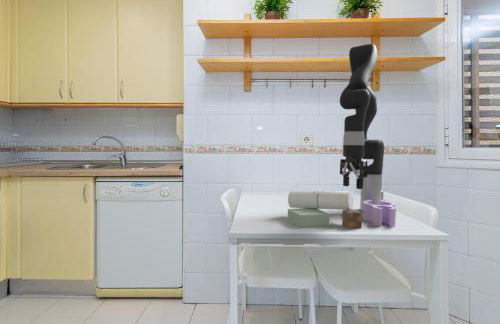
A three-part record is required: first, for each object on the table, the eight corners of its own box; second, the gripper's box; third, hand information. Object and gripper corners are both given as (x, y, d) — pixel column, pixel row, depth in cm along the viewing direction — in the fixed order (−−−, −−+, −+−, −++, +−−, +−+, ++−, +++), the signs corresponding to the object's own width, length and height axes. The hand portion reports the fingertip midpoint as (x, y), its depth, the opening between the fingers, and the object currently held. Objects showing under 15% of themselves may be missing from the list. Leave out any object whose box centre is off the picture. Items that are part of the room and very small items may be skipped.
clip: (403, 228, 120) (404, 209, 119) (368, 226, 122) (369, 208, 121) (389, 216, 139) (390, 200, 139) (359, 215, 141) (360, 199, 141)
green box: (314, 219, 133) (314, 207, 133) (329, 226, 122) (329, 213, 122) (287, 221, 130) (287, 209, 130) (301, 228, 118) (301, 215, 118)
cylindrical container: (286, 201, 133) (347, 203, 119) (290, 187, 137) (350, 187, 124) (292, 210, 137) (351, 213, 124) (296, 197, 141) (354, 198, 128)
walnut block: (353, 224, 123) (353, 209, 123) (361, 228, 119) (362, 212, 118) (342, 225, 122) (342, 210, 122) (349, 229, 117) (350, 212, 117)
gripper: (374, 144, 113) (373, 189, 114) (351, 144, 127) (350, 185, 127) (356, 143, 111) (354, 190, 112) (334, 144, 125) (333, 185, 125)
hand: (352, 187), depth 119 cm, fingers open, 8 cm apart
